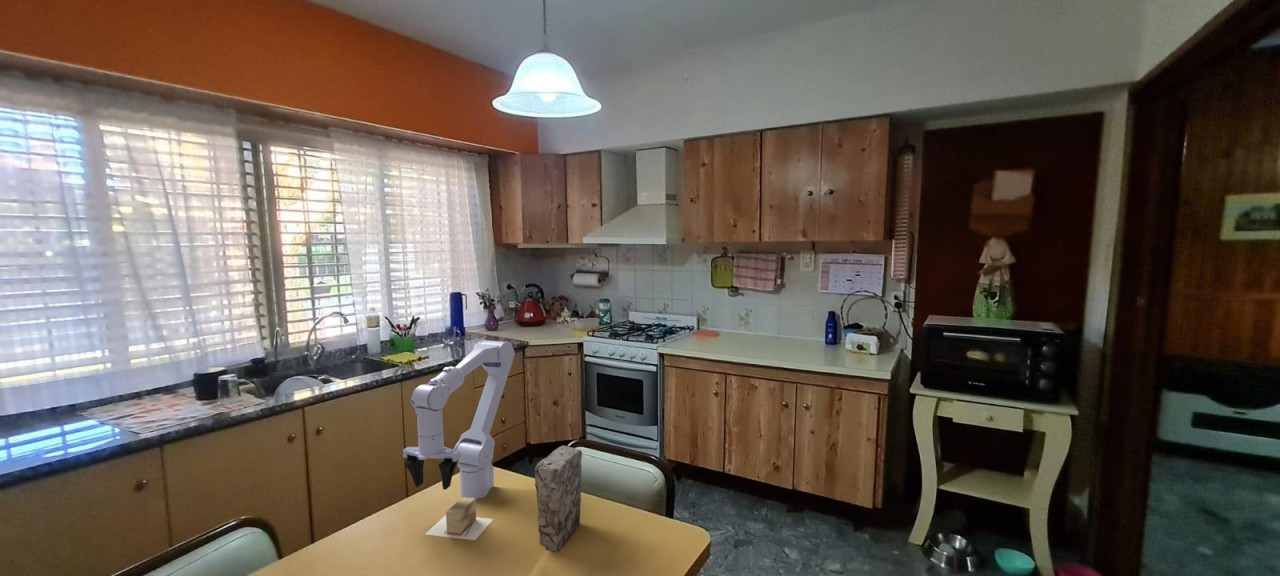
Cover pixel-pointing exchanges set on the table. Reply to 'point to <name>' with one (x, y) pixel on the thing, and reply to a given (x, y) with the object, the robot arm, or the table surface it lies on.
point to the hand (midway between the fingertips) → (432, 486)
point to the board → (469, 534)
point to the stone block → (558, 496)
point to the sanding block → (461, 516)
